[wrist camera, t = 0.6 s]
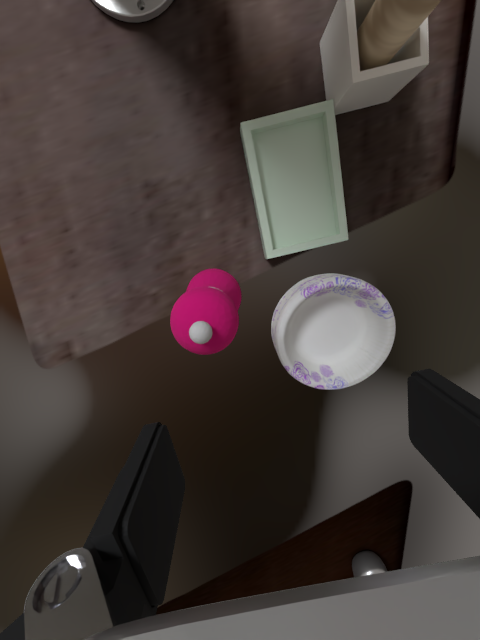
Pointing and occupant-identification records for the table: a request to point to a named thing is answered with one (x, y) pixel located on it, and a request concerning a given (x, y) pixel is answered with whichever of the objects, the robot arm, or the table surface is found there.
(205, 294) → the pepper mill
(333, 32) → the box
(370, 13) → the beige ringed cylinder
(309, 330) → the paper bowls
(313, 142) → the tray
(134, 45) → the table surface
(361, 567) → the plastic bottle
